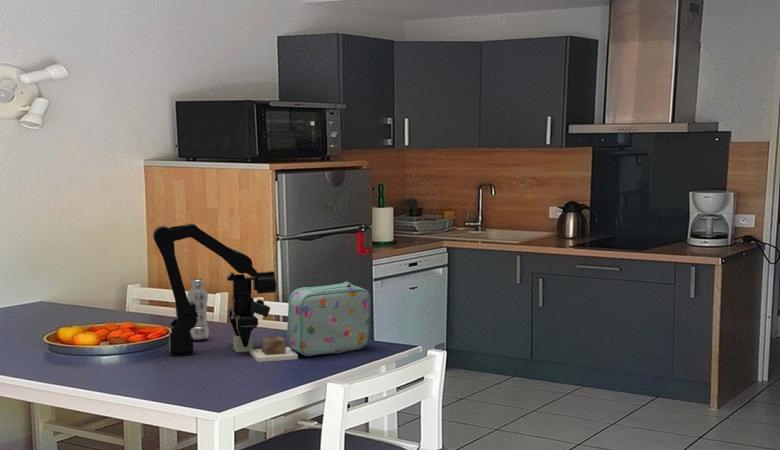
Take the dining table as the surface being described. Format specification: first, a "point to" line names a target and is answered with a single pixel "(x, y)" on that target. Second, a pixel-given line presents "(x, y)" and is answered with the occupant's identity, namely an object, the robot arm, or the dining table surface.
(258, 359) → the base board
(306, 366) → the dining table surface
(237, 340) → the sage block
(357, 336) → the lunch box
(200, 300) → the plastic bottle
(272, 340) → the walnut block
